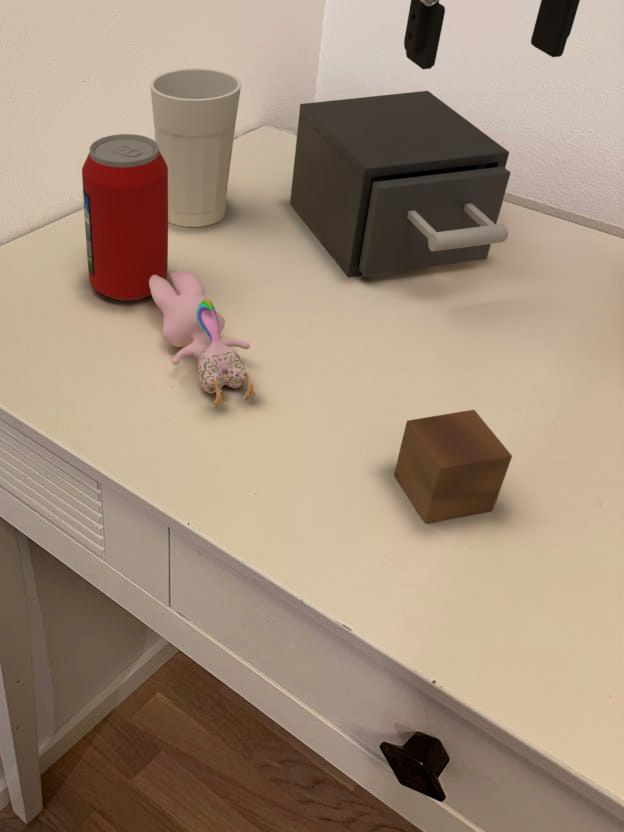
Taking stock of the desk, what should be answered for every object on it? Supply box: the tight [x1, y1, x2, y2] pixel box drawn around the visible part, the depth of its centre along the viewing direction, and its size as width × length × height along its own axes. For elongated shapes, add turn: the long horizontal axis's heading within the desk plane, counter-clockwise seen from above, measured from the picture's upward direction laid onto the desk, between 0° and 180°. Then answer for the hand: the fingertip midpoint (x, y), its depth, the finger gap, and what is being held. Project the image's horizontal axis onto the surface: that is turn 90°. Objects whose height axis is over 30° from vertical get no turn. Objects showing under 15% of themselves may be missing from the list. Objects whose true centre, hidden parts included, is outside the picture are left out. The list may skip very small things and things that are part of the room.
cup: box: [149, 67, 242, 228], centre depth 82 cm, size 8×8×12 cm
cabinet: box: [289, 90, 510, 277], centre depth 79 cm, size 15×13×10 cm
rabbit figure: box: [149, 270, 257, 410], centre depth 67 cm, size 6×6×15 cm
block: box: [393, 409, 513, 524], centre depth 55 cm, size 5×5×5 cm
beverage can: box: [81, 133, 169, 302], centre depth 72 cm, size 7×7×12 cm
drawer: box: [359, 164, 511, 277], centre depth 76 cm, size 19×11×8 cm, turn 13°
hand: (482, 56), depth 62 cm, fingers open, 9 cm apart
